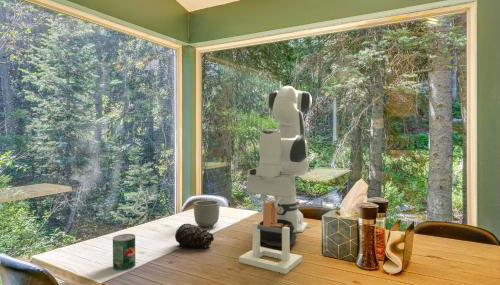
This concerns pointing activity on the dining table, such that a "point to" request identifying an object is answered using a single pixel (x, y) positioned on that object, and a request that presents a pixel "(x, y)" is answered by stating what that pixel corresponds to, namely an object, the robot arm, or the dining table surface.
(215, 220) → the planter
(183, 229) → the pine cone
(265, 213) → the orange block
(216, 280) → the dining table surface
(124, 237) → the canned tomato
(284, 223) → the casserole
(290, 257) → the toilet paper holder
